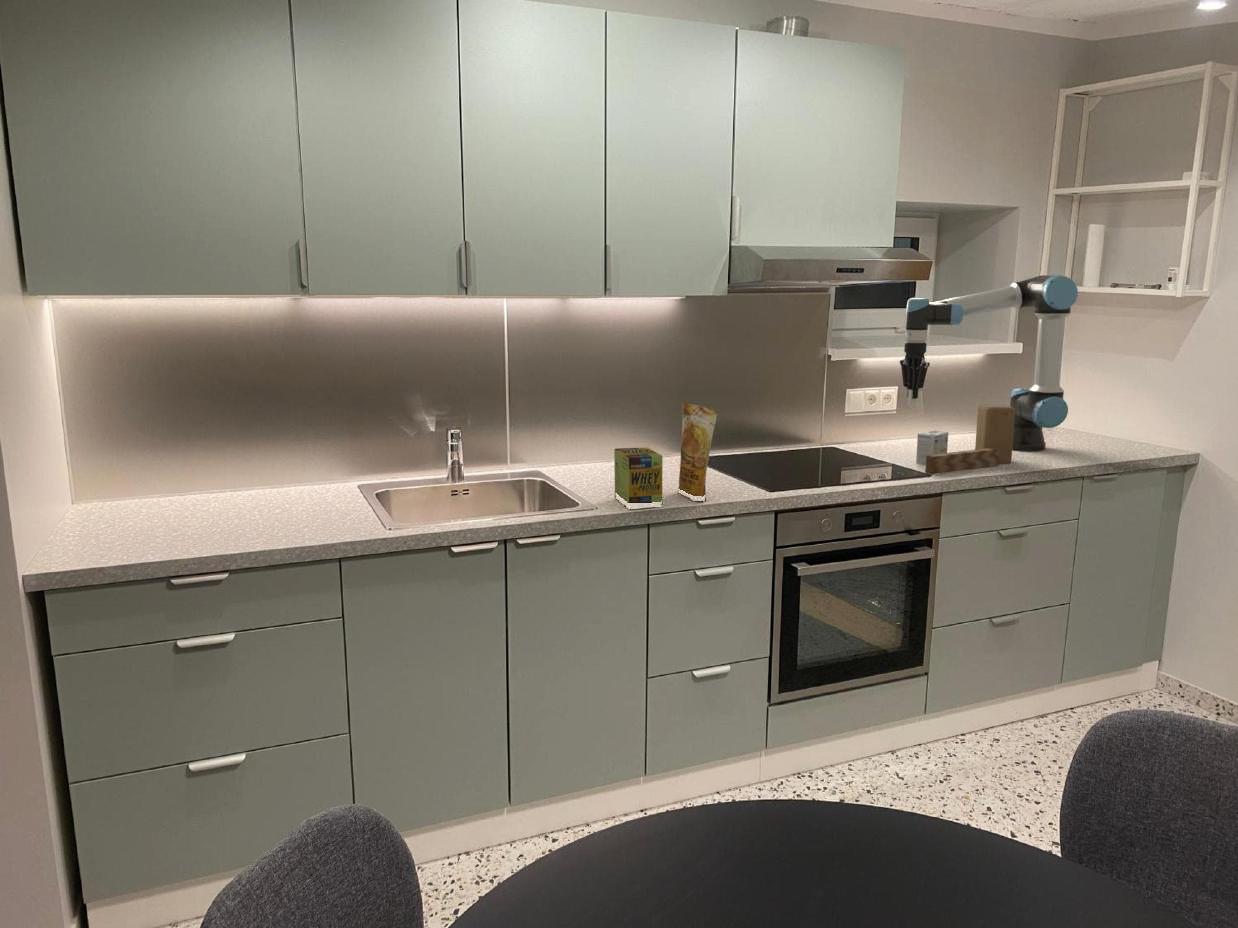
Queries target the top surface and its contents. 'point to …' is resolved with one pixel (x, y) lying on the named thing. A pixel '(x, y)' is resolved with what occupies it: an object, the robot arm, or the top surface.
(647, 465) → the protein box
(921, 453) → the light bulb box
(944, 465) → the walnut board
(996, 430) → the wooden block
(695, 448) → the pancake mix bag
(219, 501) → the top surface
